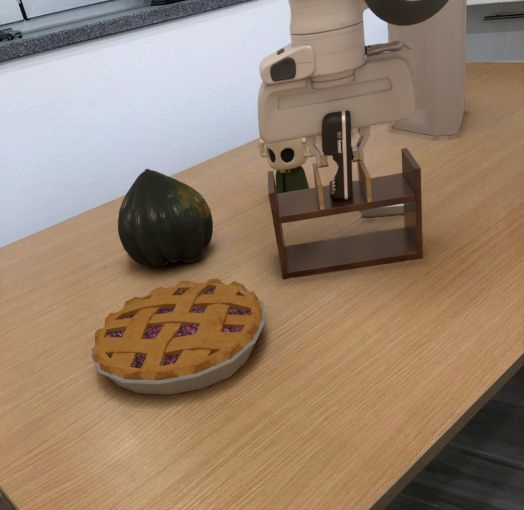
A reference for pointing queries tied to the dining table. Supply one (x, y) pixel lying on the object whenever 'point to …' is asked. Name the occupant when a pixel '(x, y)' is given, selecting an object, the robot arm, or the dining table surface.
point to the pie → (179, 337)
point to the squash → (163, 221)
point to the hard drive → (384, 211)
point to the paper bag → (436, 70)
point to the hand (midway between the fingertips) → (339, 163)
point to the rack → (364, 197)
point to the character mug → (287, 163)
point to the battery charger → (339, 152)
